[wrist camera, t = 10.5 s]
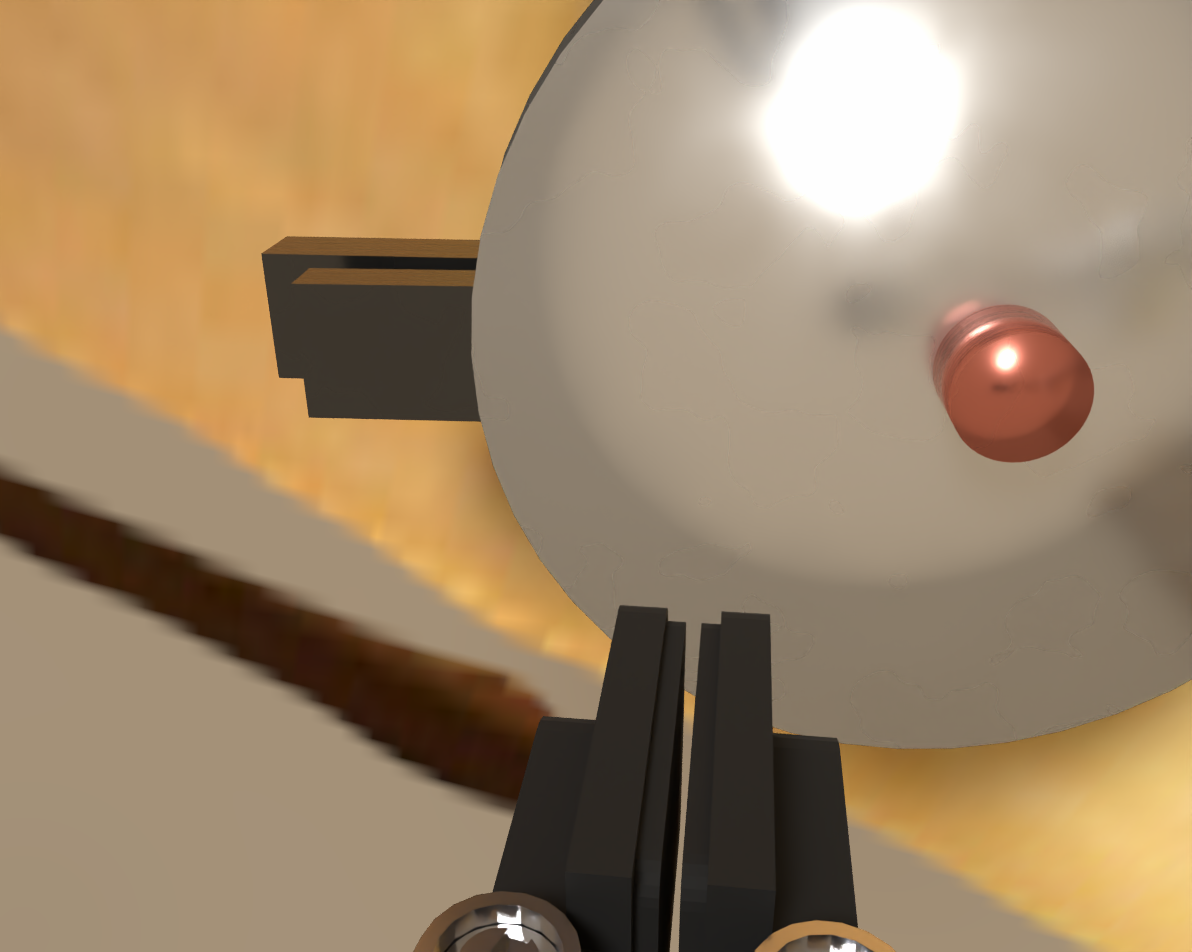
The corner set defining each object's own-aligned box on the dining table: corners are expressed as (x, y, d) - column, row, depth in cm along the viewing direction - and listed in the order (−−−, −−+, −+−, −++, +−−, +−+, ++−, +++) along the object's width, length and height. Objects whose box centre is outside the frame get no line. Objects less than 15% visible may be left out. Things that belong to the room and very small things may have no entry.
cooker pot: (1333, -167, 28) (1614, -212, 19) (1163, 539, 36) (1300, 736, 28) (355, -148, 30) (195, -180, 22) (414, 505, 39) (318, 675, 30)
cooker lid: (1602, -199, 19) (1757, -221, 16) (1295, 732, 27) (1362, 822, 25) (255, -174, 21) (186, -190, 18) (362, 691, 29) (327, 772, 26)
